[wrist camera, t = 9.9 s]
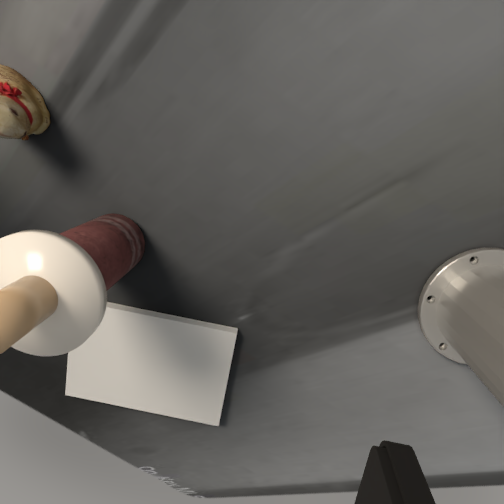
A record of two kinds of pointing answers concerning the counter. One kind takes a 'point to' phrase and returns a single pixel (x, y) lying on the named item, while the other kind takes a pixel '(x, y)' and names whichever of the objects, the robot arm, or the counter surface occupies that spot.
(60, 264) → the lid
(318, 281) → the counter surface
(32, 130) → the chocolate bunny
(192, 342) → the mat
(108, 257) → the can
